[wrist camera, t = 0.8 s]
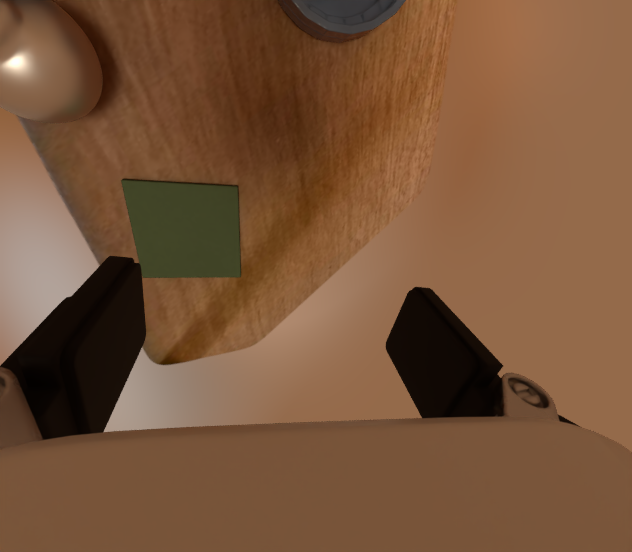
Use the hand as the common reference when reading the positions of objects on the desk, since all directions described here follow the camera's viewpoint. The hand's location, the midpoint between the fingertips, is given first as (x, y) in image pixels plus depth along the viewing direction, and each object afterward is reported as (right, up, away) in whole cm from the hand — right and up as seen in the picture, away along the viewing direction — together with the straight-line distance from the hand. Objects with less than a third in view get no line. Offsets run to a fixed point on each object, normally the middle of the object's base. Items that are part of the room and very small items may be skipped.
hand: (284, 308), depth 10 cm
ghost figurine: (-22, +20, +16) cm, 34 cm away
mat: (-14, +6, +25) cm, 30 cm away
